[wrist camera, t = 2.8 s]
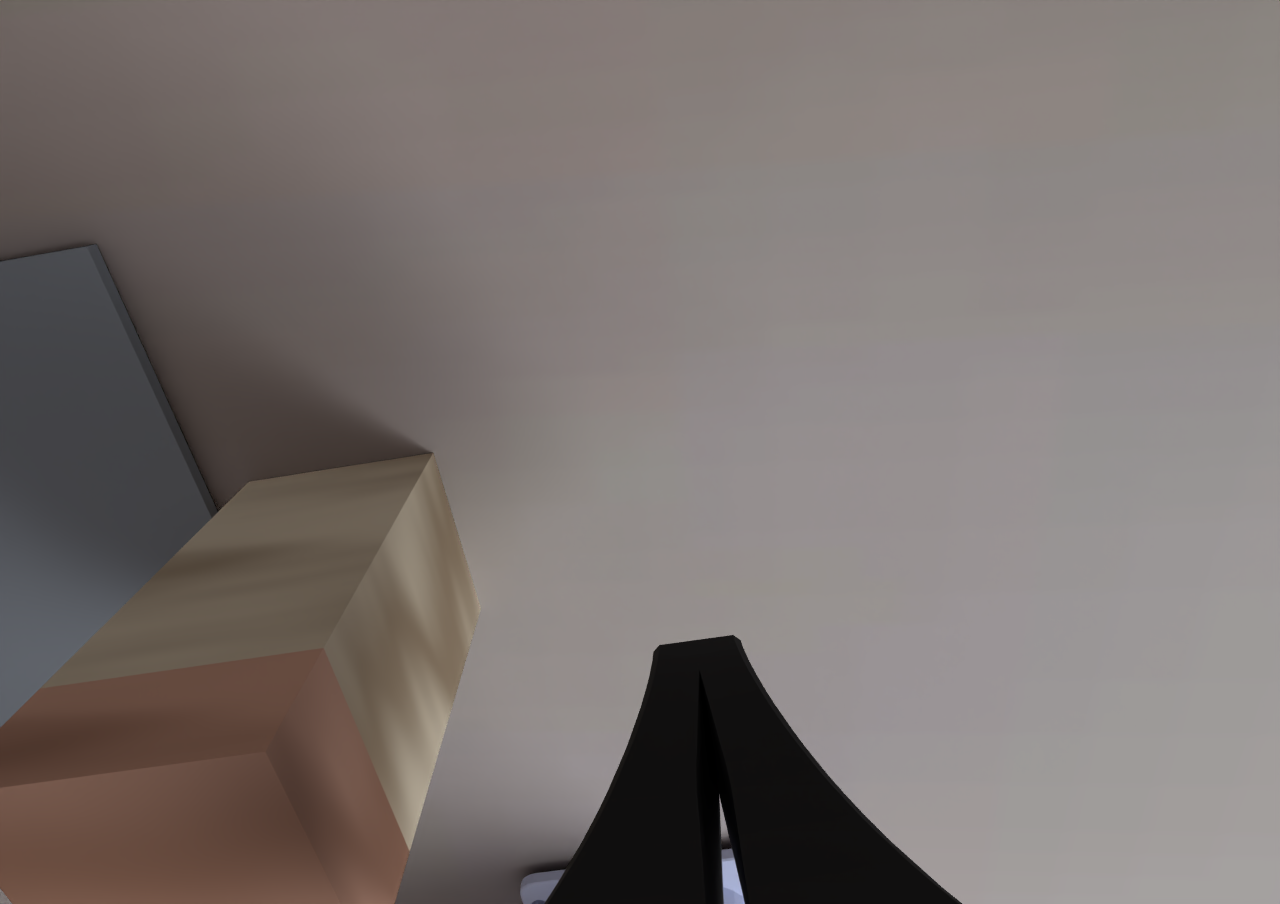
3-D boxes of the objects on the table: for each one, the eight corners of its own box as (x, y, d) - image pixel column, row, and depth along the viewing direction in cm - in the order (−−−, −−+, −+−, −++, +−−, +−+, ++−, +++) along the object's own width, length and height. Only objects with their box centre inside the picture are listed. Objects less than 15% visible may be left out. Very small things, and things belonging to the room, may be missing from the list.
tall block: (480, 608, 20) (374, 971, 11) (313, 632, 20) (90, 1004, 12) (433, 452, 18) (264, 751, 9) (249, 481, 18) (-70, 797, 10)
